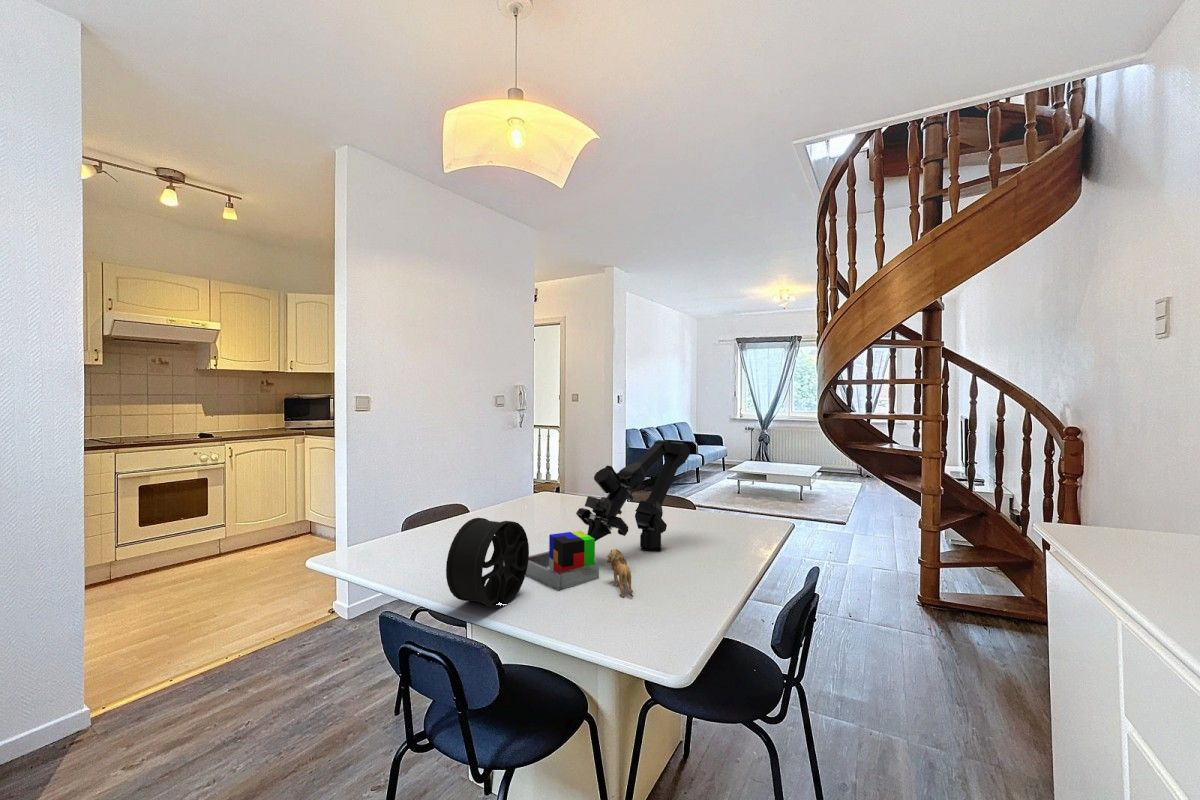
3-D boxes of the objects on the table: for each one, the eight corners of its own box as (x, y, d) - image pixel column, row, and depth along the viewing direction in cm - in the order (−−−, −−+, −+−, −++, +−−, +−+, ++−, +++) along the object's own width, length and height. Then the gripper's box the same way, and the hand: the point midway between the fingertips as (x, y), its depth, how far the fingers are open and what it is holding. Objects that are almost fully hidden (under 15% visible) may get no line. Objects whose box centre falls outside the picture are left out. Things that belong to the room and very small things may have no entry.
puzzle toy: (549, 568, 148) (549, 534, 148) (579, 563, 153) (580, 530, 153) (562, 579, 139) (562, 543, 139) (594, 573, 144) (594, 538, 144)
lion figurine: (602, 580, 139) (603, 548, 139) (620, 578, 141) (620, 546, 141) (623, 600, 125) (623, 564, 125) (643, 597, 127) (643, 562, 127)
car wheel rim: (481, 621, 113) (481, 532, 113) (445, 613, 117) (446, 527, 117) (528, 590, 131) (529, 514, 131) (496, 584, 135) (496, 510, 135)
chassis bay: (558, 561, 154) (558, 548, 154) (598, 578, 141) (598, 563, 141) (519, 572, 145) (519, 558, 145) (558, 590, 131) (558, 575, 131)
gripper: (580, 482, 160) (552, 522, 153) (621, 490, 146) (592, 534, 139) (599, 503, 165) (572, 543, 158) (640, 513, 151) (613, 557, 144)
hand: (586, 544), depth 150 cm, fingers closed
